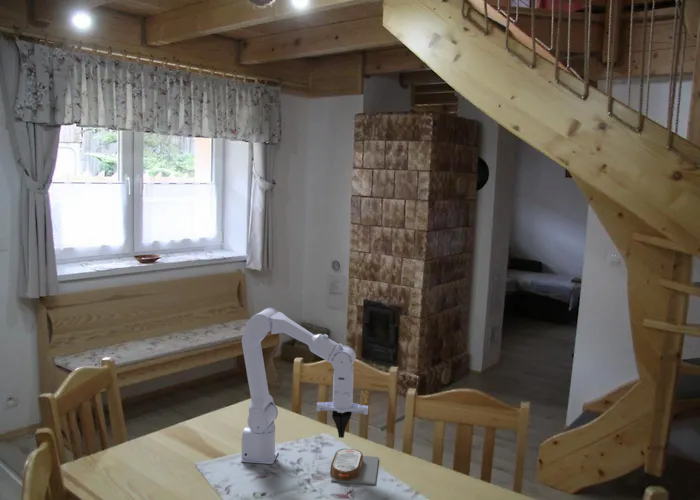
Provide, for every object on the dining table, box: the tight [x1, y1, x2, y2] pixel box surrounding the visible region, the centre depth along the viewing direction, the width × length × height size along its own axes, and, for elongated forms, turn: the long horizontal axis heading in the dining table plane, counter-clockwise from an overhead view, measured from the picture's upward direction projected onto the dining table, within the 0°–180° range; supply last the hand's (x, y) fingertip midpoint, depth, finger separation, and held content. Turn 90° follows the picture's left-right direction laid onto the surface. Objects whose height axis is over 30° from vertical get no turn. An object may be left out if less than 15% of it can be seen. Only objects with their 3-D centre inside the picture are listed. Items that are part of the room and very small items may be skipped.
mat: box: [330, 455, 380, 486], centre depth 171 cm, size 12×16×1 cm
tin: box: [329, 448, 364, 481], centre depth 170 cm, size 15×3×8 cm
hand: (341, 436), depth 171 cm, fingers closed
